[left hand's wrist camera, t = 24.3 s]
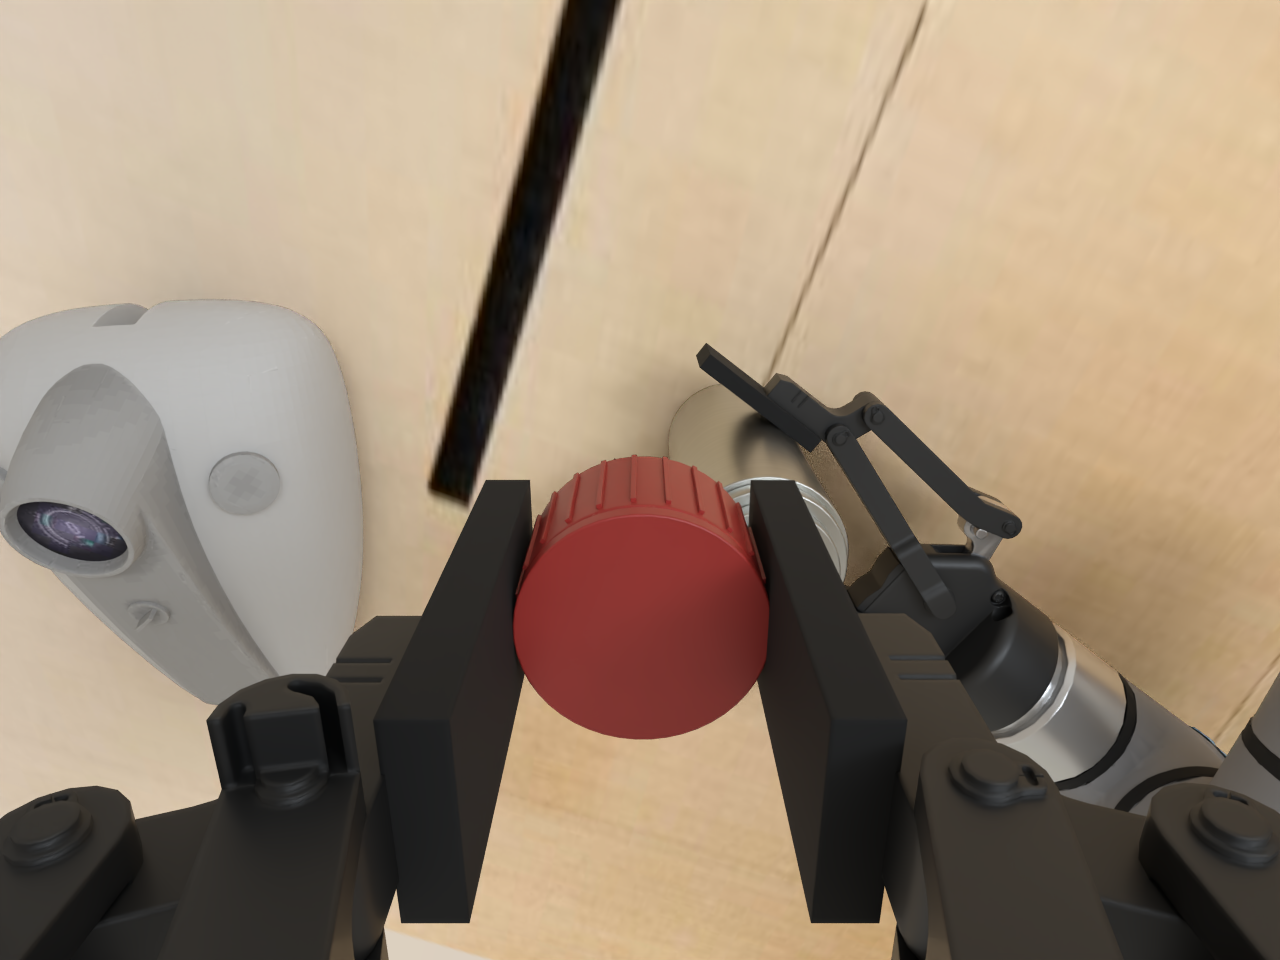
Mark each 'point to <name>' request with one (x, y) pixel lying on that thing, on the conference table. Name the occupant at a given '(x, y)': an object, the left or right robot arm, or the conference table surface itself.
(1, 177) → the conference table surface
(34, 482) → the projector
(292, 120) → the conference table surface
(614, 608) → the cap
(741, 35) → the conference table surface
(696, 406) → the bottle
